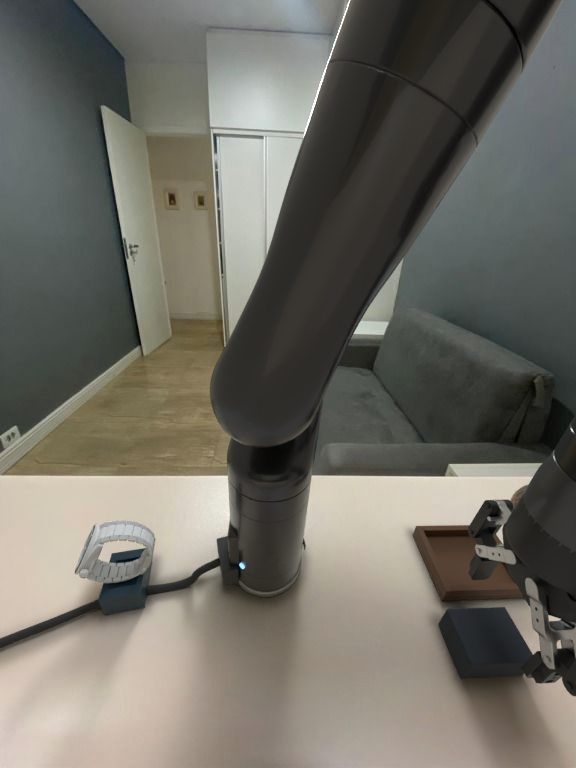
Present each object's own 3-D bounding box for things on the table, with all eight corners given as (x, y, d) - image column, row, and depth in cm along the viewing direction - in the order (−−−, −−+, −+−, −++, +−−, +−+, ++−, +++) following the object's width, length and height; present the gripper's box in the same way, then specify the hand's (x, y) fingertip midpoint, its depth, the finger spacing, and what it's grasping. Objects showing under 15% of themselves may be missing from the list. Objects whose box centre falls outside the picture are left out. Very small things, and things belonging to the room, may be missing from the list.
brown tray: (441, 600, 39) (446, 591, 38) (412, 534, 47) (416, 525, 46) (527, 597, 40) (534, 588, 39) (484, 533, 48) (489, 524, 47)
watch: (100, 570, 40) (76, 514, 34) (166, 559, 41) (153, 504, 36) (85, 619, 35) (55, 563, 30) (160, 604, 37) (144, 549, 31)
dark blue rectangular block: (460, 679, 32) (472, 665, 31) (437, 623, 37) (446, 608, 35) (522, 675, 33) (537, 661, 31) (493, 621, 37) (504, 606, 36)
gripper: (480, 454, 30) (435, 554, 38) (632, 626, 18) (517, 721, 26) (552, 453, 31) (492, 552, 39) (747, 619, 18) (600, 713, 26)
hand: (502, 619), depth 32 cm, fingers open, 8 cm apart
